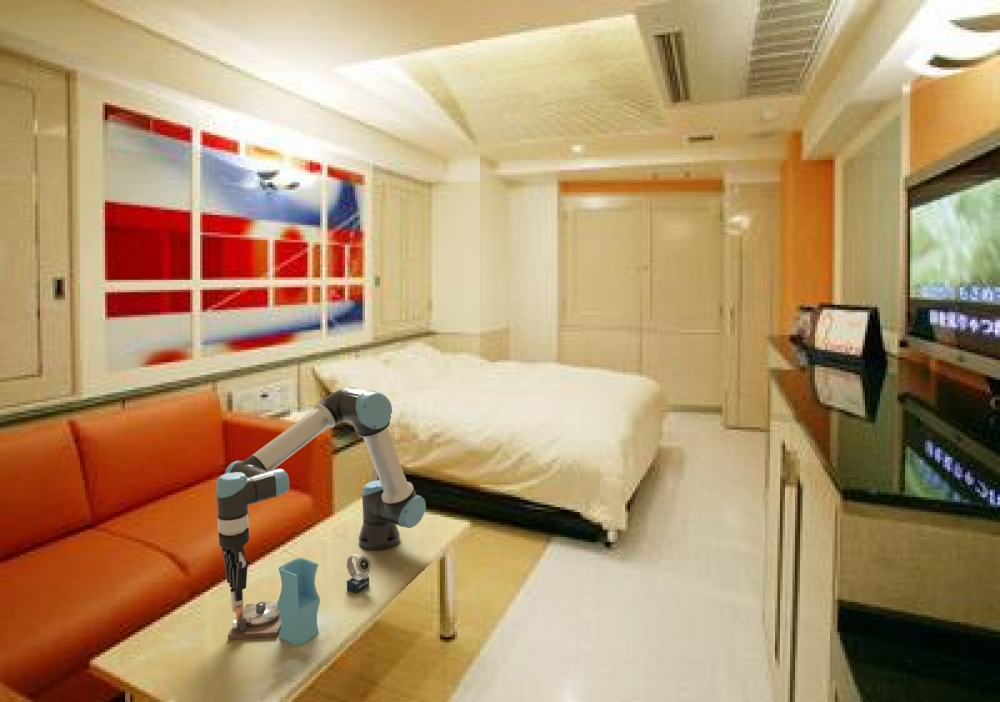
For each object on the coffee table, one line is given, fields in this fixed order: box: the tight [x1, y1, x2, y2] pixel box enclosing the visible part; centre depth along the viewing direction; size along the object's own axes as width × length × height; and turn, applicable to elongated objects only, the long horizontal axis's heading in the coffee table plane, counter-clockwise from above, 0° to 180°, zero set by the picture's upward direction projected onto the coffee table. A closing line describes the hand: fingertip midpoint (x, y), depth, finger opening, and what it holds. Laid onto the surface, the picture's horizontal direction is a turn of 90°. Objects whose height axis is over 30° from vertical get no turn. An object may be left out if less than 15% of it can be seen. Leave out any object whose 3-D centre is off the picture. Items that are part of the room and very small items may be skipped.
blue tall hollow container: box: [276, 557, 321, 646], centre depth 156 cm, size 8×8×20 cm
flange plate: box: [232, 601, 280, 629], centre depth 161 cm, size 12×10×6 cm
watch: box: [346, 552, 372, 595], centre depth 181 cm, size 6×8×11 cm
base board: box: [227, 603, 281, 641], centre depth 163 cm, size 15×13×5 cm
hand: (237, 609), depth 159 cm, fingers closed
